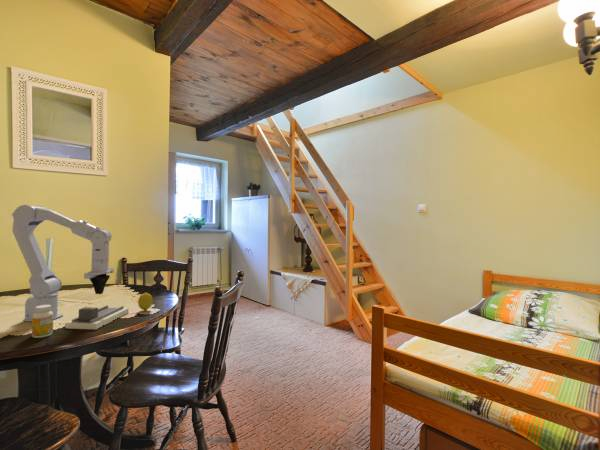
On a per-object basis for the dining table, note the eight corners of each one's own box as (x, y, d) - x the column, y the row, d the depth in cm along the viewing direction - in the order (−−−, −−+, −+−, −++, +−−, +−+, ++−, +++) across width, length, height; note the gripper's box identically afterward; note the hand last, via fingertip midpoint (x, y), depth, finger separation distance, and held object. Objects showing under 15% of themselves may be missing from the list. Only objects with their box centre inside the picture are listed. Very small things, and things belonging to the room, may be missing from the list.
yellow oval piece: (146, 313, 129) (146, 294, 129) (134, 311, 130) (135, 293, 130) (154, 309, 135) (155, 291, 135) (144, 308, 136) (144, 290, 136)
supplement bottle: (30, 335, 102) (30, 306, 102) (50, 331, 106) (51, 303, 106) (33, 339, 98) (34, 309, 98) (54, 335, 102) (55, 306, 102)
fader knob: (78, 320, 111) (78, 309, 111) (84, 317, 114) (84, 306, 114) (92, 321, 111) (92, 309, 111) (97, 318, 114) (98, 307, 114)
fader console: (65, 328, 109) (65, 319, 109) (102, 311, 129) (102, 304, 129) (95, 329, 109) (96, 321, 109) (128, 312, 129) (128, 305, 129)
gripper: (97, 262, 115) (96, 298, 115) (121, 258, 129) (120, 290, 129) (79, 261, 115) (77, 297, 115) (105, 257, 129) (103, 289, 130)
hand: (99, 293), depth 122 cm, fingers closed
